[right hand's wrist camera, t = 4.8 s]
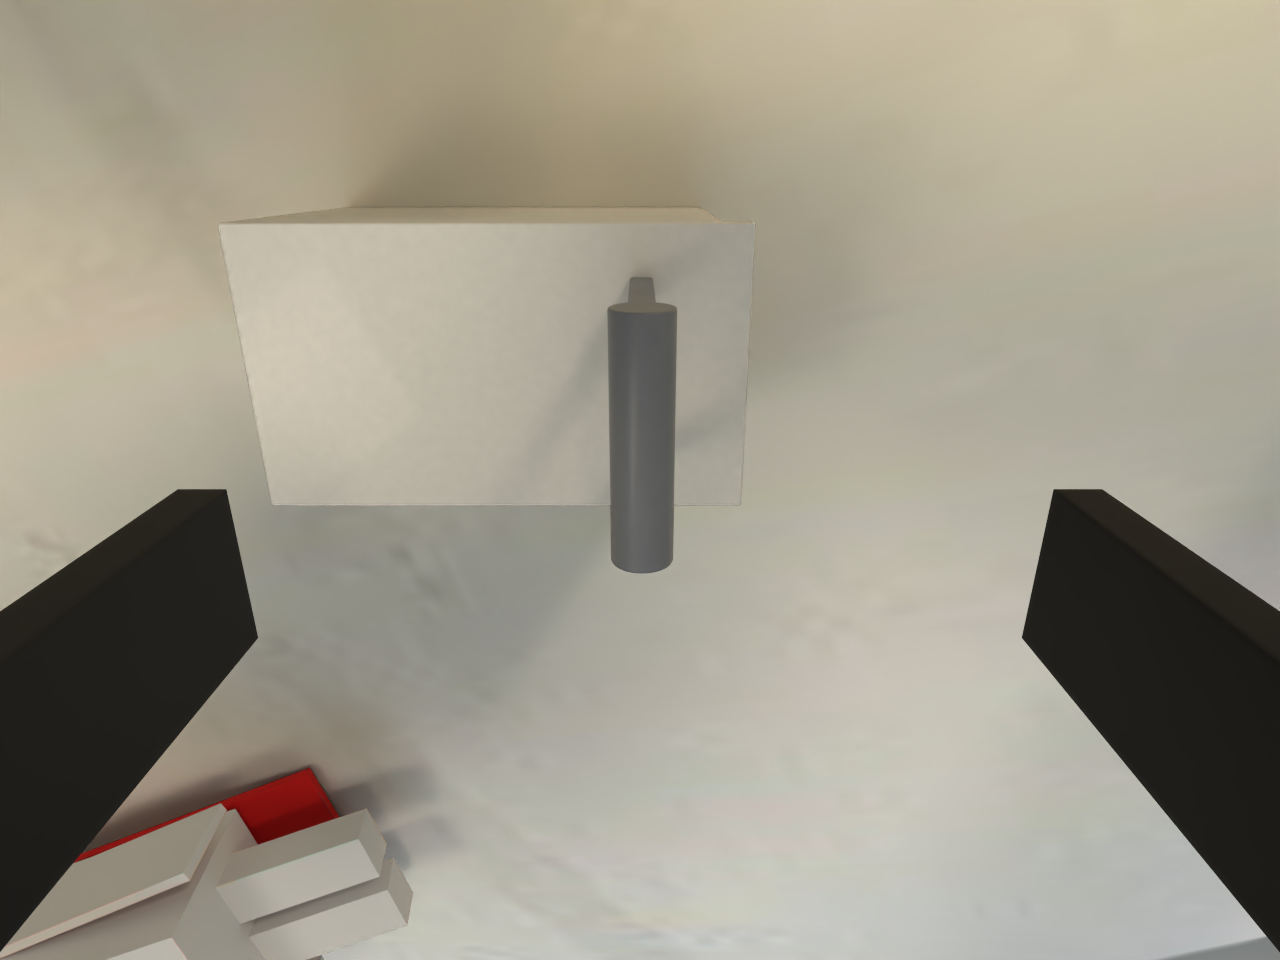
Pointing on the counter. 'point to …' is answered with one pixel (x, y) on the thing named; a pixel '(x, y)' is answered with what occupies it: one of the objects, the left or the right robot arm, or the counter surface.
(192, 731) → the counter surface
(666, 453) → the lid
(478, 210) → the chest
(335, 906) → the toy
